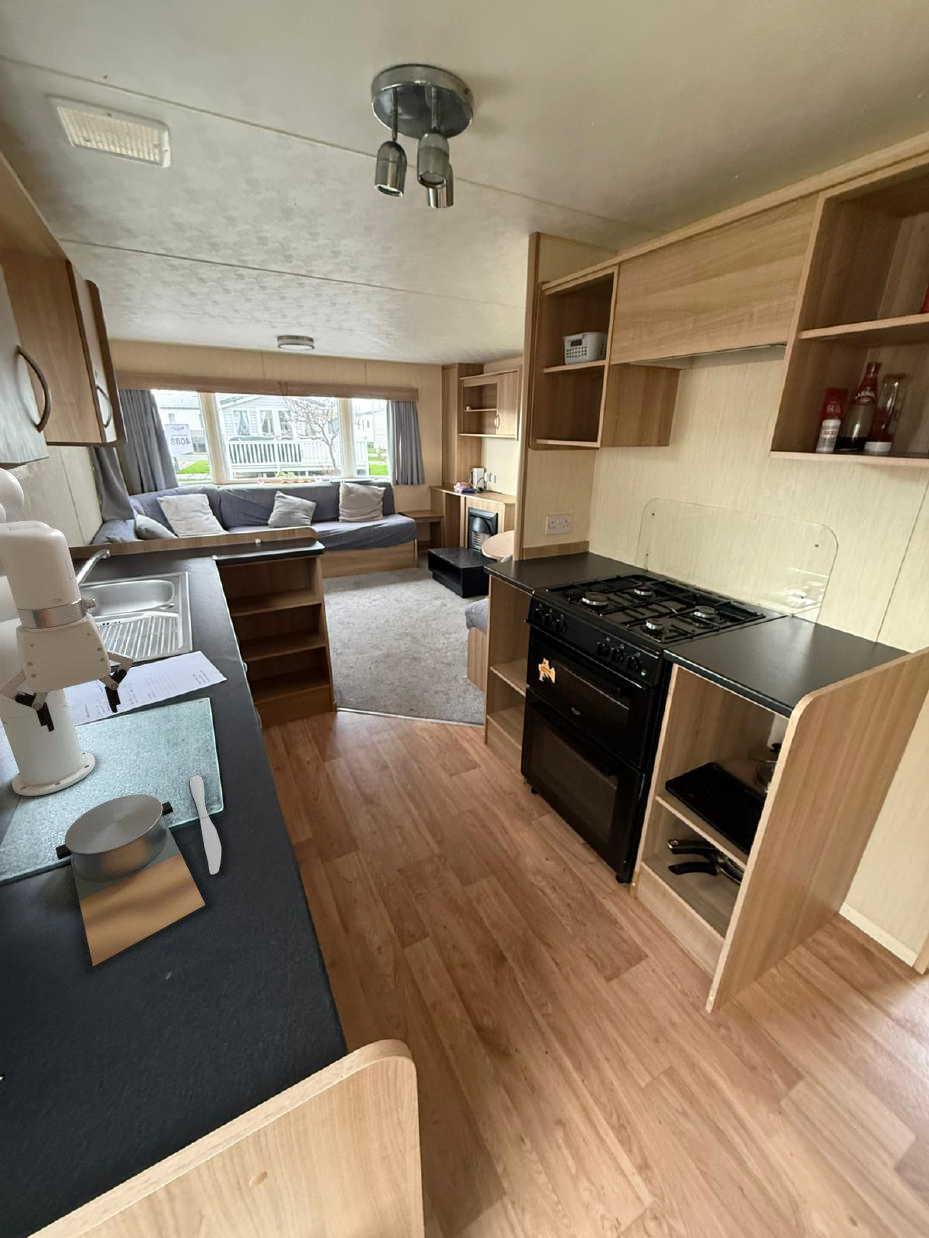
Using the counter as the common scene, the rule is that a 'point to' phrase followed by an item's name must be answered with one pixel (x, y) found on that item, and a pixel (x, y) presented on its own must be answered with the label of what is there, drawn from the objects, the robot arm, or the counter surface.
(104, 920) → the trivet
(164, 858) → the gray square tile
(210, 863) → the butter knife
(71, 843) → the pot
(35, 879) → the counter surface
